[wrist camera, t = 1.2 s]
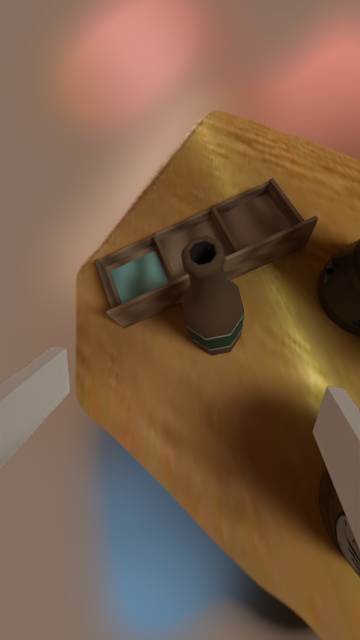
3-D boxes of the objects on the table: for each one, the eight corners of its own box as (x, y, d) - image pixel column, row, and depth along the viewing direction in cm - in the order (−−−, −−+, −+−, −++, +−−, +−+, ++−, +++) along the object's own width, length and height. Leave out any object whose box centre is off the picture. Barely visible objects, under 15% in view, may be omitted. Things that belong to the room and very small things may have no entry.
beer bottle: (251, 339, 43) (273, 259, 20) (209, 366, 43) (186, 315, 20) (222, 301, 46) (215, 195, 23) (183, 327, 45) (138, 244, 23)
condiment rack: (268, 193, 51) (273, 160, 44) (305, 246, 46) (318, 218, 40) (103, 269, 52) (85, 248, 45) (124, 328, 47) (107, 314, 41)
